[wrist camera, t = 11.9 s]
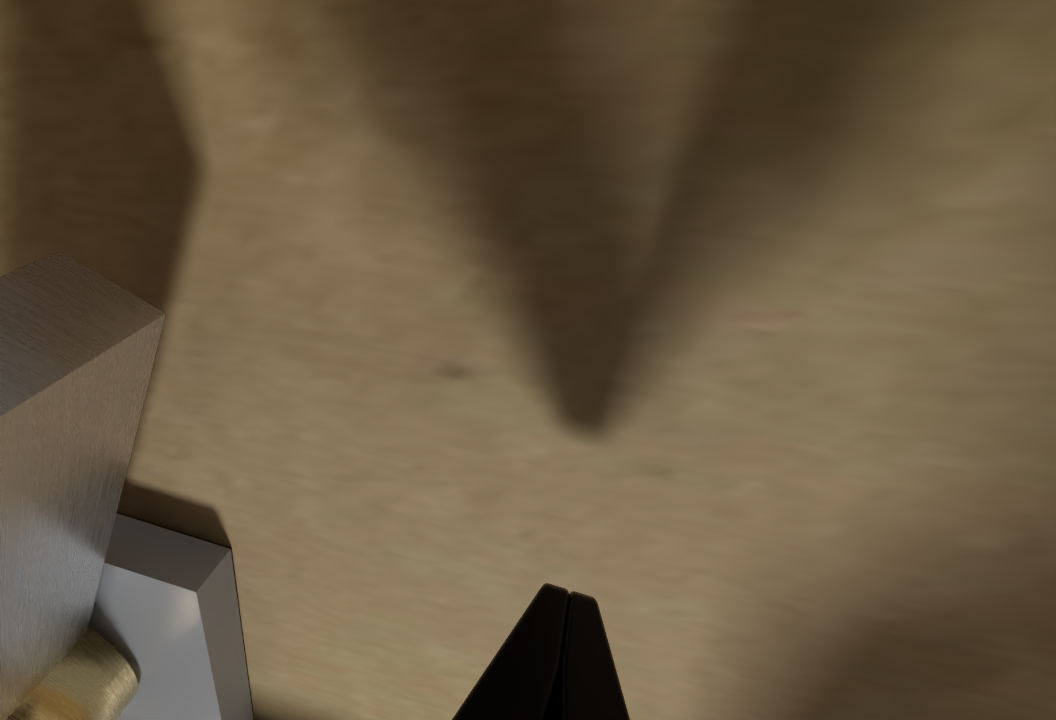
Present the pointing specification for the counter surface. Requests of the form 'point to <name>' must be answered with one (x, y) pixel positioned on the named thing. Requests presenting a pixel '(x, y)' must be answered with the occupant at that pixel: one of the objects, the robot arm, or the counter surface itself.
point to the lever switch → (64, 480)
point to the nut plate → (173, 623)
